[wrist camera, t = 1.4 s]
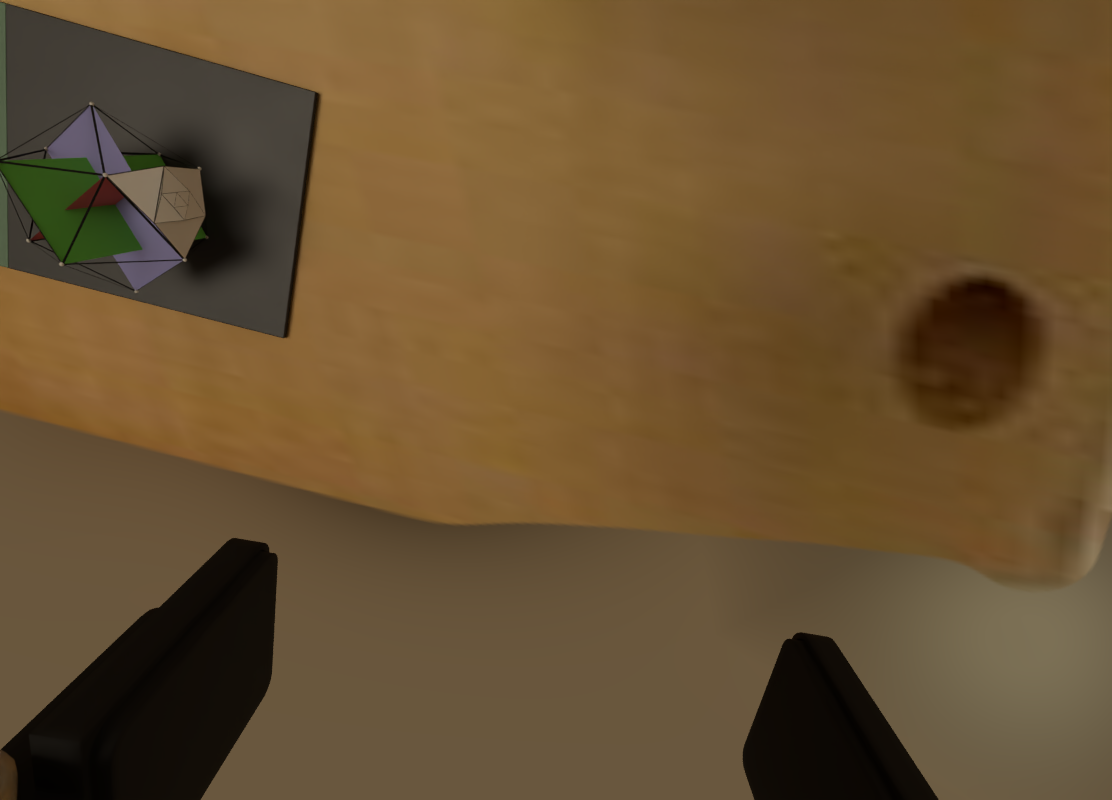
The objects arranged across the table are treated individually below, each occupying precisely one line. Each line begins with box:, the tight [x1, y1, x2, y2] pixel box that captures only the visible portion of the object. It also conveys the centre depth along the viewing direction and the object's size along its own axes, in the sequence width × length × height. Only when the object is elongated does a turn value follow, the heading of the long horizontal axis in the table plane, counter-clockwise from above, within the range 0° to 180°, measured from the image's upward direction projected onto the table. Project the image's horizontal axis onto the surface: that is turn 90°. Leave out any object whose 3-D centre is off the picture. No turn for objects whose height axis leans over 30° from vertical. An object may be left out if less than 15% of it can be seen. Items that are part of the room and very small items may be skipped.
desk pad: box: [0, 2, 318, 338], centre depth 27 cm, size 12×26×1 cm, turn 75°
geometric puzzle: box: [0, 102, 209, 293], centre depth 25 cm, size 7×7×8 cm
